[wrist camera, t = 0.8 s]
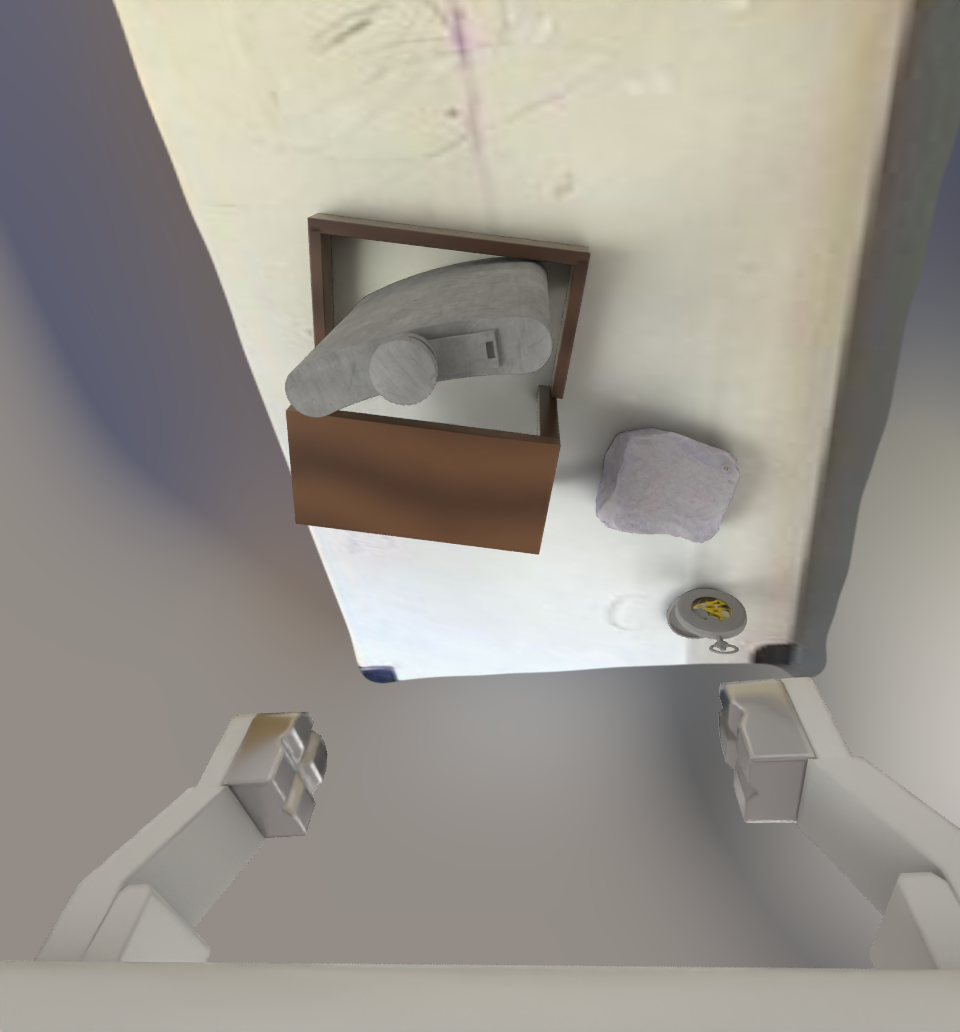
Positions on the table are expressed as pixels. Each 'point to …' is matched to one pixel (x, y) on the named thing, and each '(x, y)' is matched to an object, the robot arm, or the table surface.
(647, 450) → the stone block
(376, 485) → the shelf stand
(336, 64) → the table surface
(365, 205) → the table surface
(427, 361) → the hip flask
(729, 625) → the pocket watch
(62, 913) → the robot arm
